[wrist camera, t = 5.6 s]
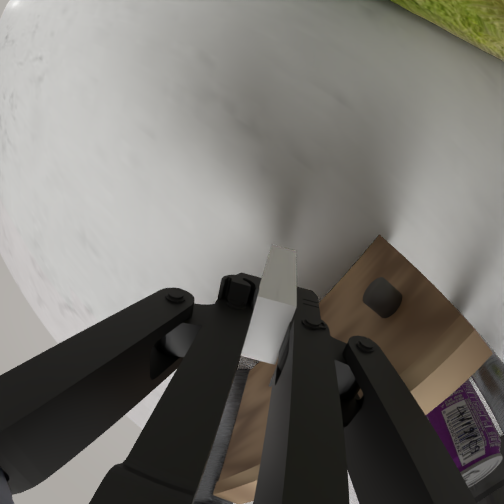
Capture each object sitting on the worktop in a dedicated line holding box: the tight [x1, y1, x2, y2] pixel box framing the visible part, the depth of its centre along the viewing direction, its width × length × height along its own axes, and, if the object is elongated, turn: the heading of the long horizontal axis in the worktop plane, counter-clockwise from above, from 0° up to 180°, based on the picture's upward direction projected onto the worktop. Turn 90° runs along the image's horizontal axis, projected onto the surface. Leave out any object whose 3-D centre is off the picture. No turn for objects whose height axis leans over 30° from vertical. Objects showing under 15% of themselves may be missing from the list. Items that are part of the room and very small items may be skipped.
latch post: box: [457, 309, 504, 434], centre depth 12 cm, size 3×3×15 cm
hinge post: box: [194, 369, 250, 504], centre depth 17 cm, size 4×4×15 cm
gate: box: [213, 235, 493, 504], centre depth 14 cm, size 15×3×12 cm, turn 144°
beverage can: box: [426, 379, 503, 488], centre depth 16 cm, size 7×7×12 cm
